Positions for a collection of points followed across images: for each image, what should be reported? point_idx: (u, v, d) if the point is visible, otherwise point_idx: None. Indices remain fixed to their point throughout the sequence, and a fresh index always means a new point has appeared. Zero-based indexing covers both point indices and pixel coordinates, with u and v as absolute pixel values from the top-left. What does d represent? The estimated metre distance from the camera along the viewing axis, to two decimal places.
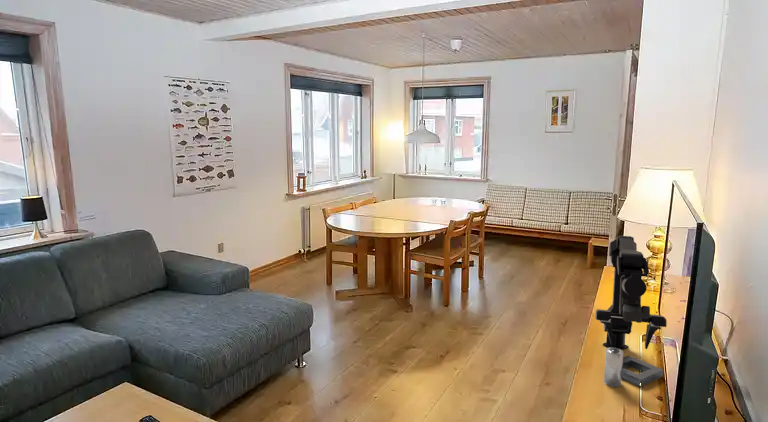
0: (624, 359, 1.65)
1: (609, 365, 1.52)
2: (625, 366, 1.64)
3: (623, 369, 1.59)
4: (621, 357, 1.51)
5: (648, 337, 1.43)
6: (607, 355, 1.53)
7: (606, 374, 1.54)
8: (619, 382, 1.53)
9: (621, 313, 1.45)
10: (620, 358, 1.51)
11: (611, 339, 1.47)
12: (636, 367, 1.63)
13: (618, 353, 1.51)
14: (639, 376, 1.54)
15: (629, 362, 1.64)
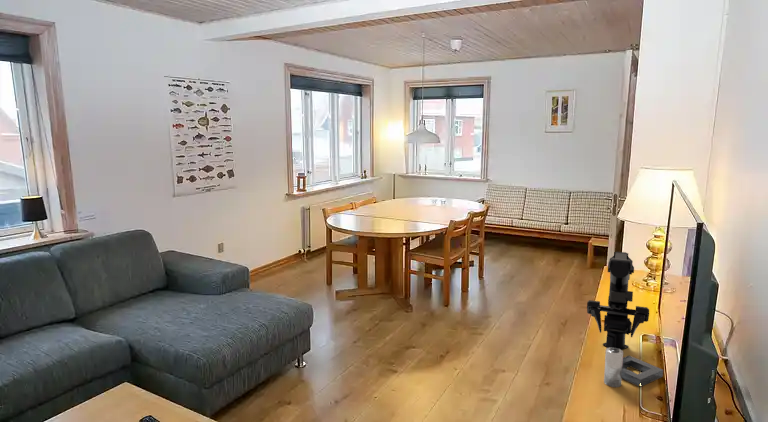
0: (624, 359, 1.65)
1: (609, 365, 1.52)
2: (625, 366, 1.64)
3: (623, 369, 1.59)
4: (621, 357, 1.51)
5: (633, 325, 1.58)
6: (607, 355, 1.53)
7: (606, 374, 1.54)
8: (619, 382, 1.53)
9: (609, 301, 1.63)
10: (620, 358, 1.51)
11: (599, 326, 1.62)
12: (636, 367, 1.63)
13: (618, 353, 1.51)
14: (639, 376, 1.54)
15: (629, 362, 1.64)
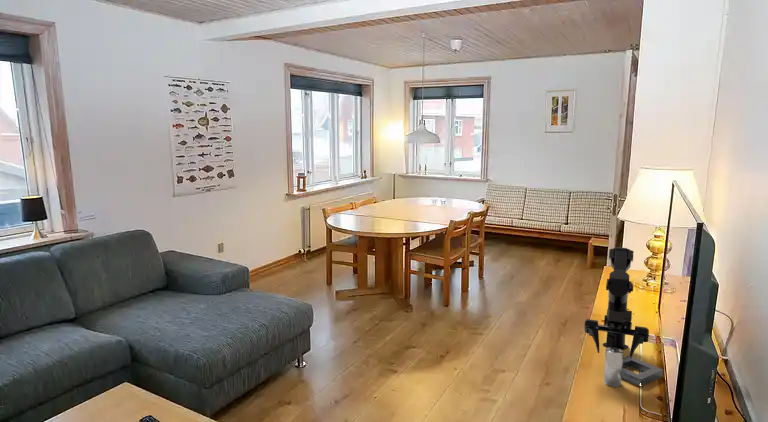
0: (624, 359, 1.65)
1: (609, 365, 1.52)
2: (625, 366, 1.64)
3: (623, 369, 1.59)
4: (621, 357, 1.51)
5: (632, 346, 1.53)
6: (607, 355, 1.53)
7: (606, 374, 1.54)
8: (619, 382, 1.53)
9: (607, 320, 1.58)
10: (620, 358, 1.51)
11: (597, 346, 1.57)
12: (636, 367, 1.63)
13: (618, 353, 1.52)
14: (639, 376, 1.54)
15: (629, 362, 1.64)
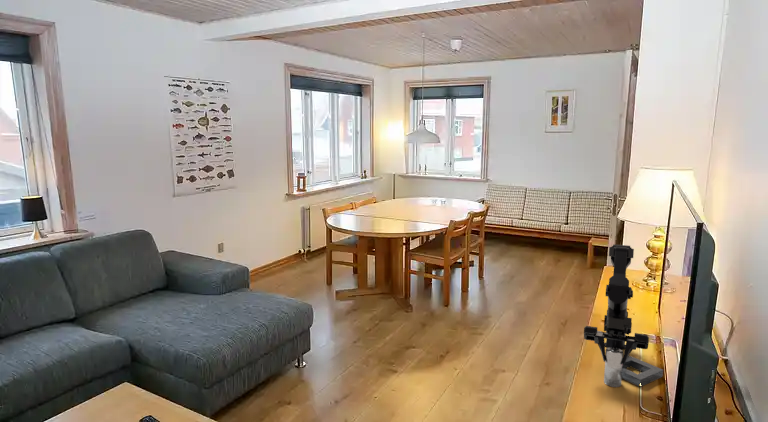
0: None
1: (610, 365, 1.52)
2: (625, 366, 1.64)
3: (623, 369, 1.59)
4: (621, 357, 1.51)
5: (625, 352, 1.52)
6: (607, 355, 1.53)
7: (606, 374, 1.54)
8: (619, 382, 1.53)
9: (606, 327, 1.56)
10: (620, 358, 1.51)
11: (603, 354, 1.54)
12: (636, 367, 1.63)
13: (618, 353, 1.51)
14: (639, 376, 1.54)
15: (629, 362, 1.64)
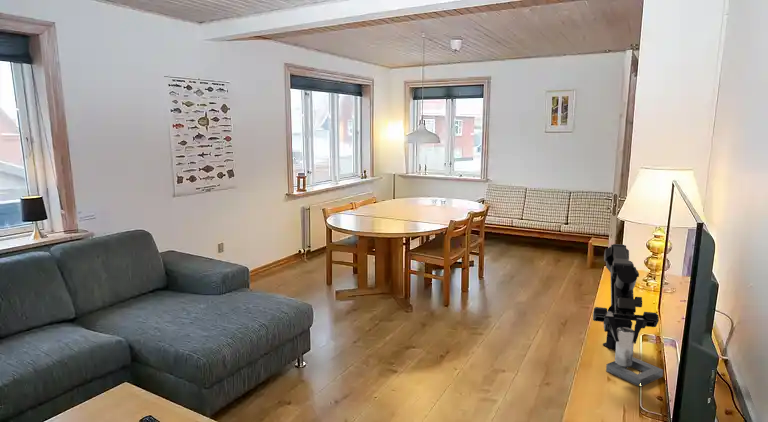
0: None
1: (622, 344, 1.53)
2: (625, 366, 1.64)
3: (623, 369, 1.59)
4: (633, 336, 1.52)
5: (636, 331, 1.53)
6: (619, 335, 1.53)
7: (618, 354, 1.55)
8: (631, 361, 1.54)
9: (616, 307, 1.57)
10: (632, 337, 1.52)
11: (615, 334, 1.55)
12: (636, 367, 1.63)
13: (630, 332, 1.52)
14: (639, 376, 1.54)
15: None
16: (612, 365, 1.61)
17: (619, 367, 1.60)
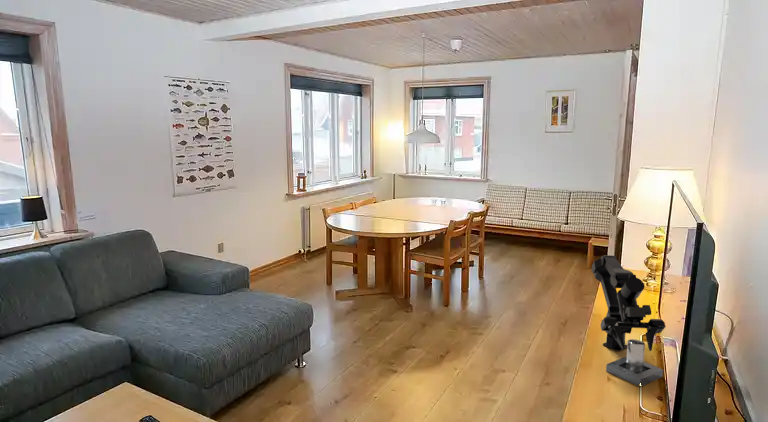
0: (624, 359, 1.65)
1: (634, 357, 1.57)
2: (625, 366, 1.64)
3: (623, 369, 1.59)
4: (644, 348, 1.57)
5: (650, 338, 1.58)
6: (631, 347, 1.58)
7: (630, 366, 1.59)
8: None
9: (625, 316, 1.61)
10: (643, 349, 1.57)
11: (622, 343, 1.59)
12: None
13: (641, 344, 1.57)
14: (639, 376, 1.54)
15: None
16: (612, 365, 1.61)
17: (619, 367, 1.60)
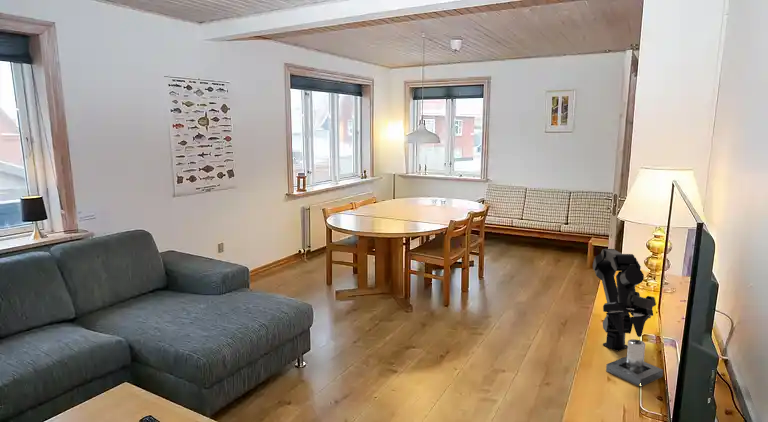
0: (624, 359, 1.65)
1: (634, 357, 1.57)
2: (625, 366, 1.64)
3: (623, 369, 1.59)
4: (644, 348, 1.57)
5: (642, 326, 1.66)
6: (631, 348, 1.58)
7: (630, 366, 1.59)
8: None
9: (631, 304, 1.63)
10: (644, 349, 1.57)
11: (622, 329, 1.61)
12: None
13: (642, 344, 1.57)
14: (639, 376, 1.54)
15: None
16: (612, 365, 1.61)
17: (619, 367, 1.60)
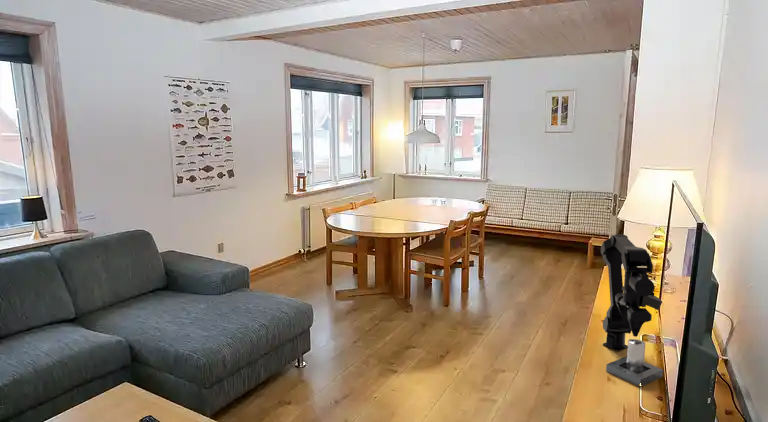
0: (624, 359, 1.65)
1: (635, 356, 1.57)
2: (625, 366, 1.64)
3: (623, 369, 1.59)
4: (644, 347, 1.57)
5: None
6: (632, 347, 1.58)
7: (630, 366, 1.59)
8: None
9: None
10: (644, 348, 1.57)
11: None
12: None
13: (642, 344, 1.57)
14: (639, 376, 1.54)
15: None
16: (612, 365, 1.61)
17: (619, 367, 1.60)
